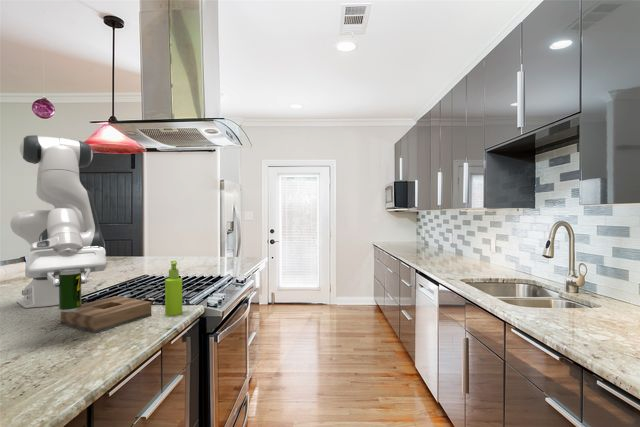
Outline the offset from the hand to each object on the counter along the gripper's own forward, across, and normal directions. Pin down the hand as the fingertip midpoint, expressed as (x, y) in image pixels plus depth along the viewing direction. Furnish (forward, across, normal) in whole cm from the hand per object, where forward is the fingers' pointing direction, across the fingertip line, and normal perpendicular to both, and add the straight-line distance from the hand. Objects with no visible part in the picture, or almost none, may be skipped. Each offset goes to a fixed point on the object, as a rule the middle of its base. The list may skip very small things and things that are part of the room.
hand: (70, 284), depth 101 cm
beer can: (+5, 0, -6) cm, 8 cm away
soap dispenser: (+8, -32, -17) cm, 37 cm away
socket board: (+1, -12, -23) cm, 26 cm away
